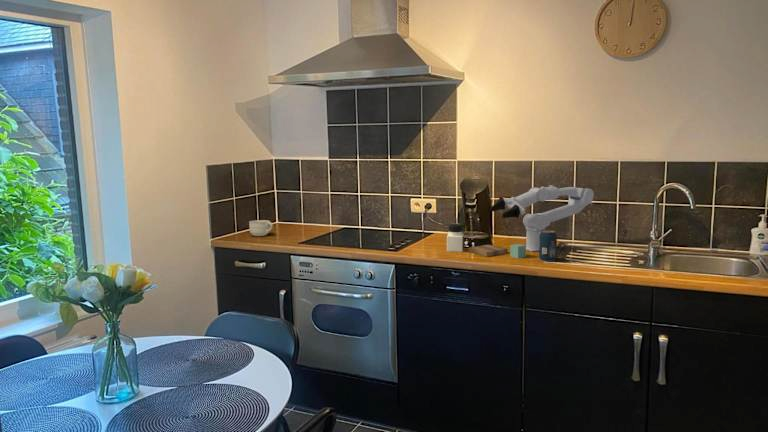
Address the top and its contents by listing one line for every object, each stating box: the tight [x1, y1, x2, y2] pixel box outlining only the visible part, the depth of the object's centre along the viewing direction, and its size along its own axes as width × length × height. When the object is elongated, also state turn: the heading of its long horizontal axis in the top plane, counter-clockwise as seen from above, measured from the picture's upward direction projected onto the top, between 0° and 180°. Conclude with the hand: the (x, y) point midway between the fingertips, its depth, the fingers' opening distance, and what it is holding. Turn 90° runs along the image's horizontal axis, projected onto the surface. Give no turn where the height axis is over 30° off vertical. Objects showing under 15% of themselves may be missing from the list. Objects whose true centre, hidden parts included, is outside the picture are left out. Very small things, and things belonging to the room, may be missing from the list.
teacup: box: [248, 219, 274, 237], centre depth 316 cm, size 14×11×8 cm
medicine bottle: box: [446, 223, 465, 253], centre depth 269 cm, size 7×7×12 cm
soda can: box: [538, 229, 558, 262], centre depth 247 cm, size 7×7×12 cm
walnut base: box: [468, 244, 508, 258], centre depth 264 cm, size 12×12×2 cm
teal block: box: [509, 243, 527, 259], centre depth 254 cm, size 4×4×5 cm
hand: (497, 212), depth 257 cm, fingers open, 7 cm apart
